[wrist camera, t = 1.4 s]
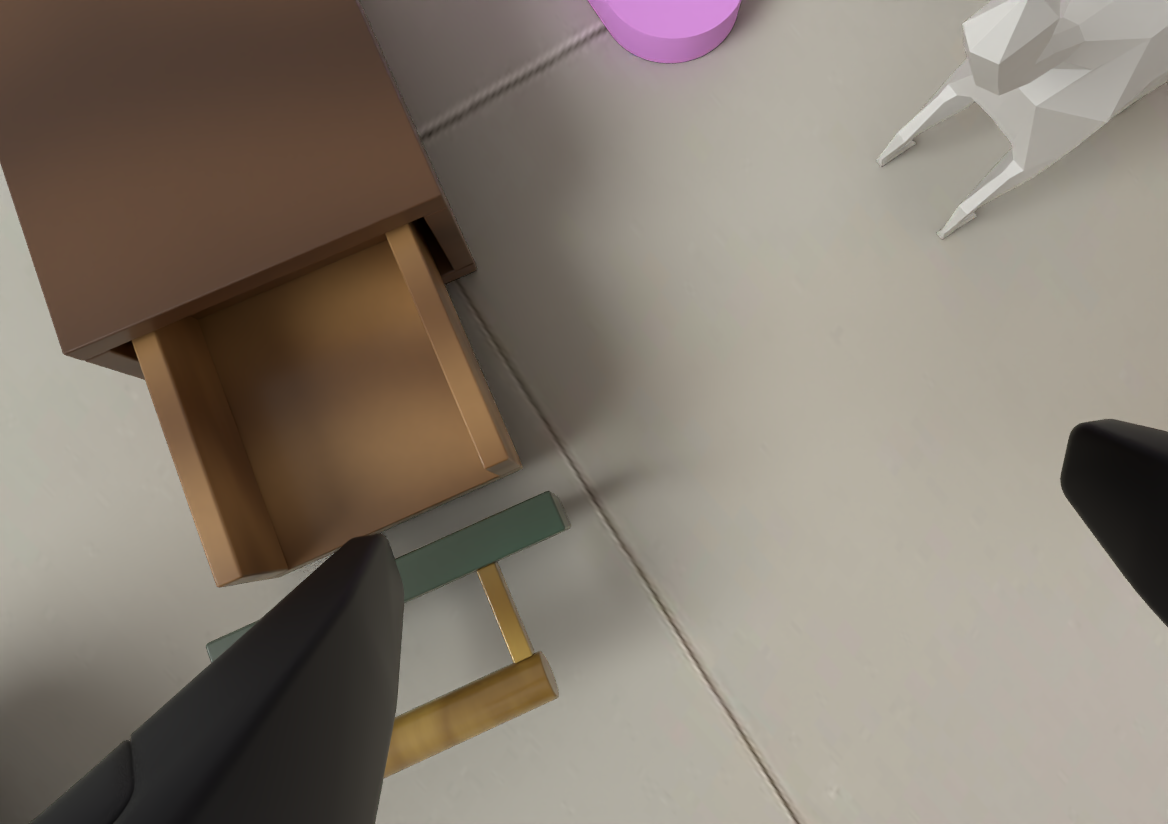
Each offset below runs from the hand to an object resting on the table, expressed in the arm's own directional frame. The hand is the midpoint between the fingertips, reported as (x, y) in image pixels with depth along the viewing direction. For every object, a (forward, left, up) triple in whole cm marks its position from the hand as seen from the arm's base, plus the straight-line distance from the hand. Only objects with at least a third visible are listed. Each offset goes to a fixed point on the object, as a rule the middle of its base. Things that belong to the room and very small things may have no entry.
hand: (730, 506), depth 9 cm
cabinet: (+19, -3, -16) cm, 25 cm away
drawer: (+8, +4, -15) cm, 17 cm away
